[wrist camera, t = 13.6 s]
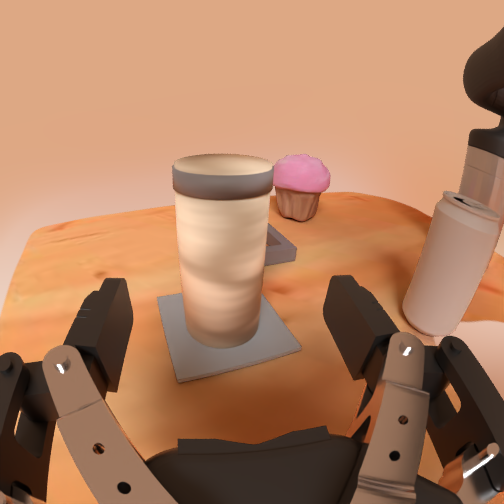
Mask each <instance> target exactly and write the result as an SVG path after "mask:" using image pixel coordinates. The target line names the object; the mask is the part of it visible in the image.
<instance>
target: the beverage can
mask: <svg viewBox="0 0 504 504" xmlns="http://www.w3.org/2000/svg"><path fill="white" fill-rule="evenodd" d="M499 219H500V215H499V214H498V213H496V212H495V211H494V210H492V209H491V208H489V207H487V206H486V205H484V204H482V203H480V202H478V201H476V200H473V199H471V198H469V197H466V196H464V195H461V194H458V193H454V192H449V191H444V192H443V198H442V199H441V200H440V201H439V202H438V203H437V204H436V206H435V210H434V214H433V217H432V221H431V224H430V228H429V231H428V234H427V237H426V241H425V244H424V247H423V250H422V253H421V256H420V258H419V261H418V264H417V267H416V270H415V272H414V275H413V278H412V280H411V283H410V285H409V288H408V290H407V293H406V295H405V297H404V300H403V303H402V308H403V312H404V314H405V316H406V318H407V320H408V322H409V323H410V324H411V325H412V326H413V327H414V328H415V329H416V330H418V331H419V332H421V333H423V334H426V335H429V336H447V335H450V334H451V333H453V332H454V331H455V329H456V327H457V326H458V324H459V322H460V320H461V319H462V317H463V315H464V313H465V311H466V309H467V308H468V306H469V304H470V302H471V300H472V298H473V296H474V294H475V292H476V289H477V287H478V285H479V283H480V281H481V279H482V276H483V274H484V272H485V269H486V267H487V265H488V262H489V260H490V257H491V255H492V252H493V249H494V247H495V244H496V241H497V238H498V236H499V227H498V221H499Z"/></svg>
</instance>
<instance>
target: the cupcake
mask: <svg viewBox="0 0 504 504" xmlns="http://www.w3.org/2000/svg"><path fill="white" fill-rule="evenodd" d="M329 184H330V173H329V170H328V169H327V168H326V167H325V166H324V165H323V163H322V161H321V160H320V159H318V158H314V157H310V156H309V155H307V154H301V155H287V156H285V157H284V158H283V159H280V160H278V161H277V162H276V164H275V165H274V176H273V186H275V190H276V198H277V205H278V208H279V210H280V212H281V214H282V216H284V217H290V218H293V219H295V220H298V221H306V220H308V219H309V218H311V217H313V216H314V215H315V213H316V211H317V207H318V201H319V196H320V195H321V192H324V191H325V190H326V189H327V188H328V187H329Z"/></svg>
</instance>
